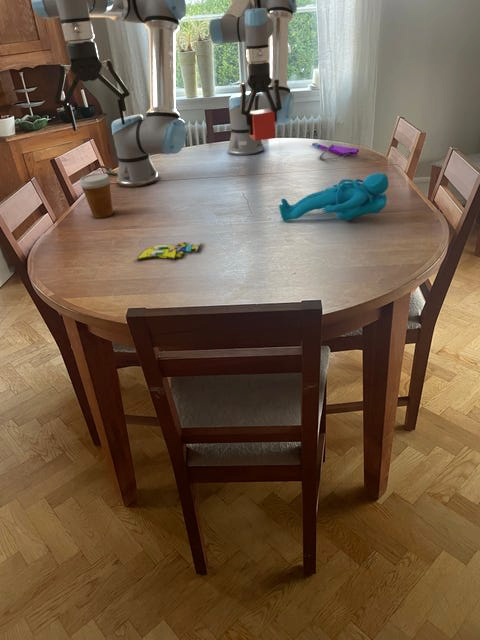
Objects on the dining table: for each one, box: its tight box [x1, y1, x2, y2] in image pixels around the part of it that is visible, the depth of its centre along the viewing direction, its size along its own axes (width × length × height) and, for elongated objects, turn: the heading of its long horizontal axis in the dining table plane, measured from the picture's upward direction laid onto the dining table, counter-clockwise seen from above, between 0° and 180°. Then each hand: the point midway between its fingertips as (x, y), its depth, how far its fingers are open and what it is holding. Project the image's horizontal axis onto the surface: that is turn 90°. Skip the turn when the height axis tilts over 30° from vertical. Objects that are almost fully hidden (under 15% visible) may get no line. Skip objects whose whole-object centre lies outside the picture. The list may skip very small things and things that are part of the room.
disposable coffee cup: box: [79, 172, 114, 219], centre depth 152 cm, size 10×10×12 cm
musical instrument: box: [311, 142, 360, 160], centre depth 196 cm, size 24×2×20 cm
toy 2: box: [278, 172, 389, 222], centre depth 135 cm, size 17×11×30 cm
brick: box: [249, 109, 276, 141], centre depth 173 cm, size 8×8×9 cm
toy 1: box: [137, 241, 202, 262], centre depth 126 cm, size 10×1×15 cm
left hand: (99, 127), depth 138 cm, fingers open, 13 cm apart
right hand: (261, 132), depth 175 cm, fingers closed on brick, 8 cm apart
